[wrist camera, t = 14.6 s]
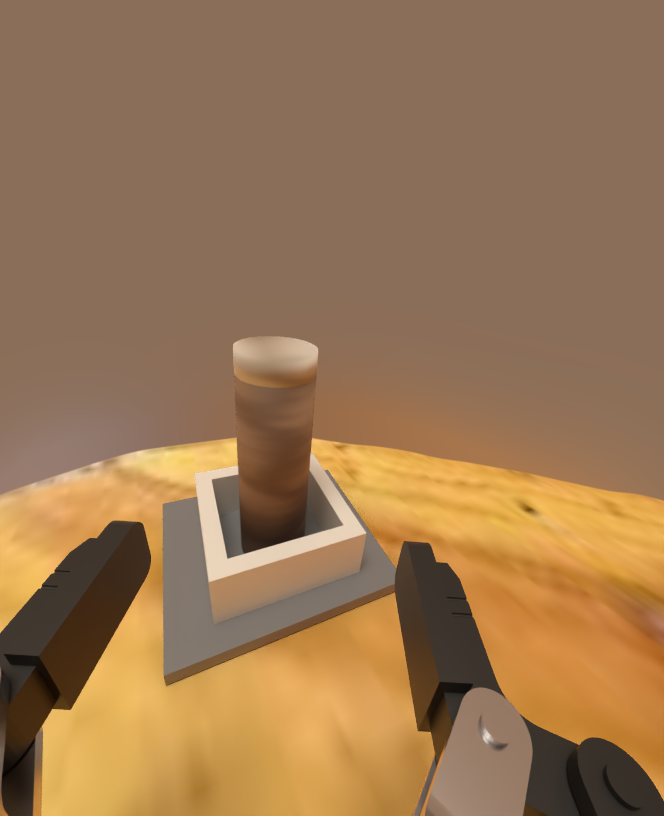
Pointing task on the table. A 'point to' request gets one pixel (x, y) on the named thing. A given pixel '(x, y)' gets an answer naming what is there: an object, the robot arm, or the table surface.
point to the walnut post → (273, 436)
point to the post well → (259, 572)
